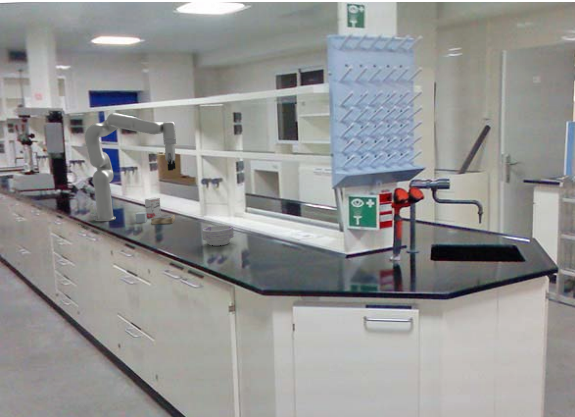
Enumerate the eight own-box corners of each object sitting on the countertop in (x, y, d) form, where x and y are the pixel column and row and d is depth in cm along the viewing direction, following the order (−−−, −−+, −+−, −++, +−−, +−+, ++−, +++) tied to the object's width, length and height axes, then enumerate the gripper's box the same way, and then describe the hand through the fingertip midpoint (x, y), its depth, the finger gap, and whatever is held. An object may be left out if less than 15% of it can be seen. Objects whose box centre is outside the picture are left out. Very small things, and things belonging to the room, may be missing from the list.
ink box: (150, 218, 352) (149, 199, 350) (145, 217, 355) (144, 198, 353) (161, 215, 359) (160, 197, 357) (156, 215, 362) (155, 197, 360)
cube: (136, 222, 337) (135, 213, 336) (138, 221, 343) (137, 212, 342) (145, 222, 338) (144, 213, 337) (147, 220, 343) (146, 212, 342)
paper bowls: (203, 241, 279) (203, 225, 278) (234, 239, 280) (233, 224, 279) (201, 248, 264) (200, 231, 263) (233, 246, 265) (233, 230, 264)
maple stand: (151, 224, 331) (151, 218, 330) (155, 220, 342) (155, 215, 342) (172, 223, 331) (171, 217, 331) (175, 219, 343) (174, 214, 342)
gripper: (165, 141, 353) (167, 168, 355) (161, 142, 336) (163, 171, 338) (177, 141, 353) (179, 168, 356) (173, 142, 336) (175, 170, 339)
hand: (171, 169), depth 347 cm, fingers open, 9 cm apart
